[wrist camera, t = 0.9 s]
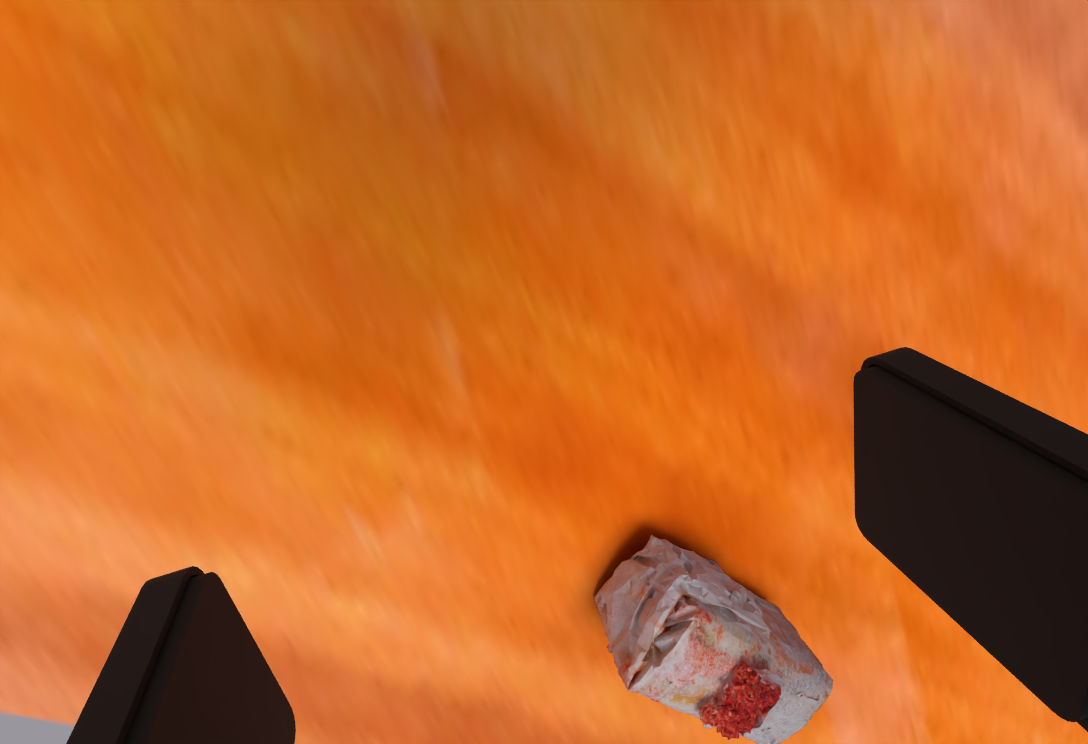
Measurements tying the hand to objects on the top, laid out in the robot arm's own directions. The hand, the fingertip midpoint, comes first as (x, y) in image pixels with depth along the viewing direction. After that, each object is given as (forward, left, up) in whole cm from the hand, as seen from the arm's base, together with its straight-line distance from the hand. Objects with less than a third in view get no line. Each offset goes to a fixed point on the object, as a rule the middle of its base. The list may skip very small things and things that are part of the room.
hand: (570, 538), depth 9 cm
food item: (+13, +26, -25) cm, 39 cm away
